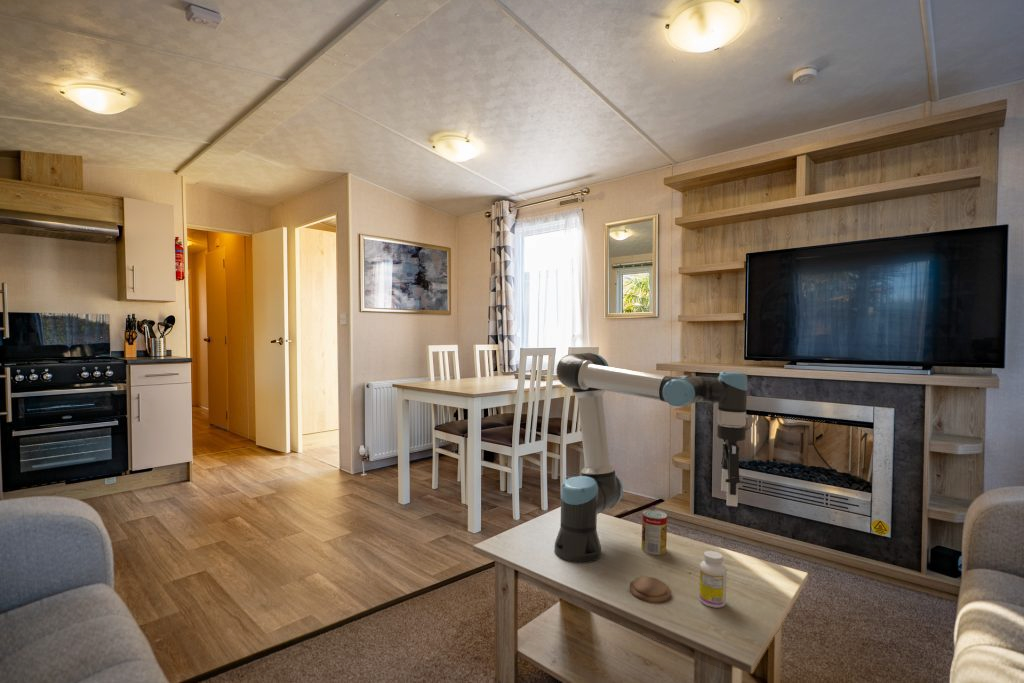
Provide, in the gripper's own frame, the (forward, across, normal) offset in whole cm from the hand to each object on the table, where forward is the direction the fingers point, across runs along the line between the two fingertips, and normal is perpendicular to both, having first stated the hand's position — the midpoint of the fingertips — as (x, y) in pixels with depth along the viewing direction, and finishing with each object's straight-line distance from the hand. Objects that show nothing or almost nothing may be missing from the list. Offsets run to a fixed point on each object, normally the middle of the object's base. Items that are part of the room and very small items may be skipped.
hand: (728, 498), depth 145 cm
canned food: (+25, +15, +21) cm, 35 cm away
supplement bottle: (+24, -14, +5) cm, 29 cm away
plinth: (+24, -14, +21) cm, 35 cm away
